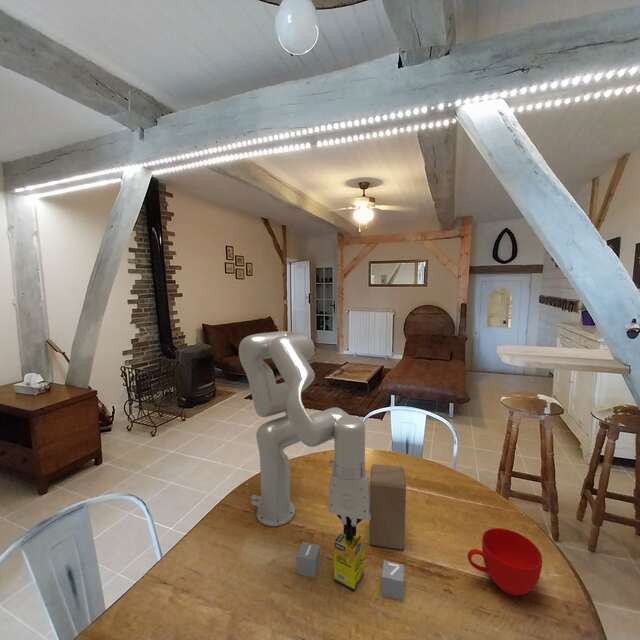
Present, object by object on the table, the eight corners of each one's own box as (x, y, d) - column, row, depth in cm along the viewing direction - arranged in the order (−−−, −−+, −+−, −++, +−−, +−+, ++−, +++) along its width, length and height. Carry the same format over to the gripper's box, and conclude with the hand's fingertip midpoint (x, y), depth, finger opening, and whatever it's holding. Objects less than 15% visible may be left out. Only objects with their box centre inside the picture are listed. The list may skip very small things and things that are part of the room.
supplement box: (354, 592, 80) (354, 551, 79) (333, 581, 83) (333, 541, 82) (364, 574, 85) (365, 535, 84) (344, 564, 88) (344, 526, 87)
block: (404, 551, 92) (406, 485, 90) (368, 546, 94) (369, 481, 92) (403, 526, 102) (404, 465, 100) (370, 522, 104) (371, 462, 102)
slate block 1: (296, 573, 86) (296, 555, 85) (302, 558, 90) (302, 541, 90) (314, 578, 84) (314, 559, 84) (320, 562, 89) (320, 544, 89)
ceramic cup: (457, 561, 89) (458, 527, 88) (520, 562, 89) (522, 528, 88) (478, 607, 76) (480, 568, 75) (552, 609, 76) (555, 570, 75)
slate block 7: (381, 595, 80) (381, 575, 79) (383, 578, 84) (383, 559, 84) (402, 600, 78) (403, 581, 78) (403, 582, 83) (404, 563, 82)
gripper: (316, 471, 80) (317, 541, 81) (378, 481, 75) (378, 554, 77) (324, 456, 87) (325, 521, 89) (381, 464, 83) (381, 532, 84)
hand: (350, 536), depth 83 cm, fingers closed
